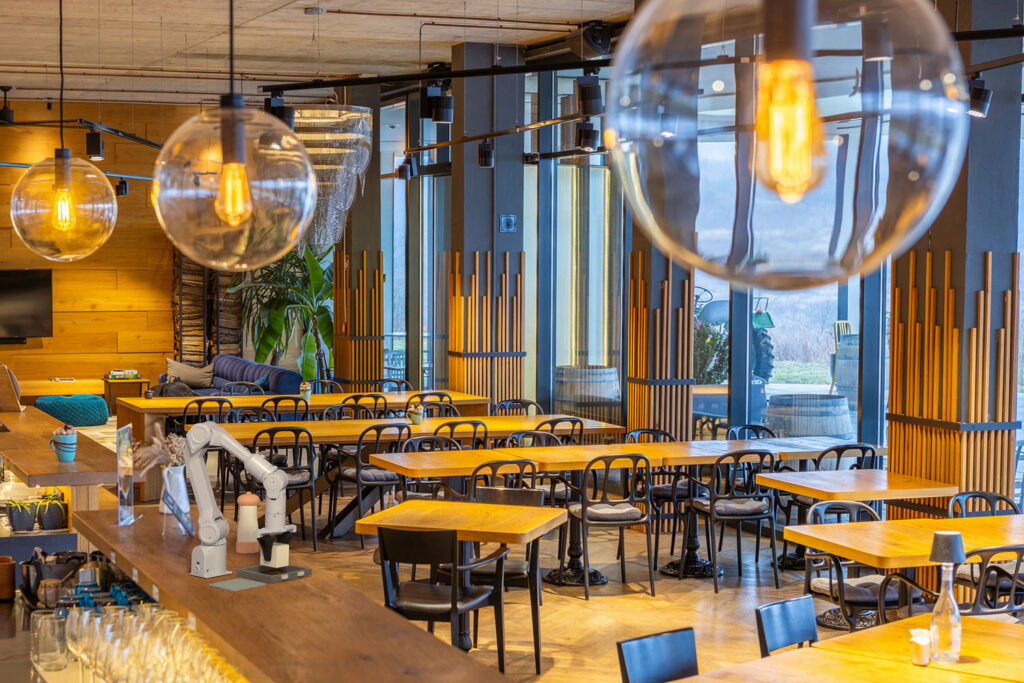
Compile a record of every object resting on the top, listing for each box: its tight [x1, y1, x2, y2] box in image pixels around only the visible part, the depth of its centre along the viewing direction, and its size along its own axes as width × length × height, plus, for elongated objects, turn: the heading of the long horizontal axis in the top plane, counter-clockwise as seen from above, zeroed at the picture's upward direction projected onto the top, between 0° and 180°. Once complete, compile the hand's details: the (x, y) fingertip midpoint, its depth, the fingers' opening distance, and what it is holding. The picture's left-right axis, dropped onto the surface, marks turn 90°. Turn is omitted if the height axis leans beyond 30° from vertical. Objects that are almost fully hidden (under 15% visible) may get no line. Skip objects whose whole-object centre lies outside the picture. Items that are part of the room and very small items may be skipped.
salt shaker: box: [235, 491, 260, 554], centre depth 365 cm, size 7×7×19 cm
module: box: [259, 541, 290, 568], centre depth 329 cm, size 4×7×6 cm, turn 53°
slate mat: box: [208, 577, 267, 592], centre depth 316 cm, size 11×11×1 cm
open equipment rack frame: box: [236, 563, 312, 585], centre depth 329 cm, size 15×16×2 cm
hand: (274, 559), depth 329 cm, fingers closed on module, 4 cm apart
